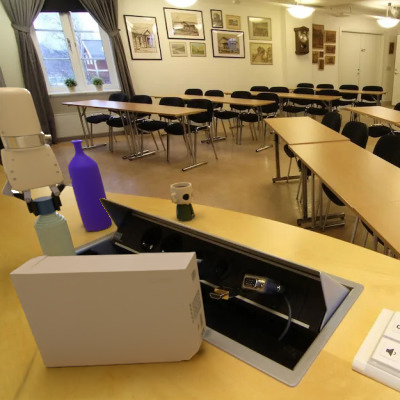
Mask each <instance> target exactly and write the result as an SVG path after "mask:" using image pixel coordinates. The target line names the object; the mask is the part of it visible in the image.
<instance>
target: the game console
mask: <svg viewBox="0 0 400 400" xmlns="http://www.w3.org/2000/svg"><path fill="white" fill-rule="evenodd" d="M9 277H10V280H11V283H12V285H13V288H14V290H15V293H16V295H17V298H18V300H19V303H20V305H21V308H22V310H23V313H24V316H25V319H26V321H27V323H28V326H29V328H30V331H31V334H32V337H33V339H34V341H35V344H36V347H37V348H38V352H39V355H40V356H41V359H42V362H43V365H44V367H45V368H59V367H60V368H61V367H62V368H64V367H83V366H84V367H86V366H108V365H109V366H110V365H128V364H130V365H131V364H152V363H172V362H182V361H181V360H189V361H190V360H191V359H192V357H194V356H195V355H196V354H197V353H198V352H199V350H200V348H201V345H202V342H203V338H204V336H205V333H206V331H207V325H206V323H207V322H206V316H205V310H204V303H203V302H204V301H203V296H202V288H201V282H200V276H199V268H198V261H197V254H196V251H190V252H140V253H137V254H136V253H135V254H134V253H133V254H97V255H94V254H93V255H91V254H89V255H77V256H48V255H45V256H44V255H38V256H36V257H32V258H30V259H28V260H27V261H26V262H24V263H23V264H20V266H18V267H17V268H16V269H14V270H12V271H11V272H9Z"/></svg>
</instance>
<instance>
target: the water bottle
mask: <svg viewBox="0 0 400 400" xmlns="http://www.w3.org/2000/svg"><path fill="white" fill-rule="evenodd" d="M33 227H34V230H35V234H36V236H37V240H38V243H39V245H40V248H41V251H42V254H43V256H45V255H48V256H78V255H77V251H76V248H75V246H74V241H73V239H72V235H71V232H70V229H69V225H68V221H67V219H66V218H65V216H64V215H62V214H59V213H58V212H57V211H56V212H54V213H51V214H47V215H38V216H37V218H36V220H35V221H34V222H33Z"/></svg>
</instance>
